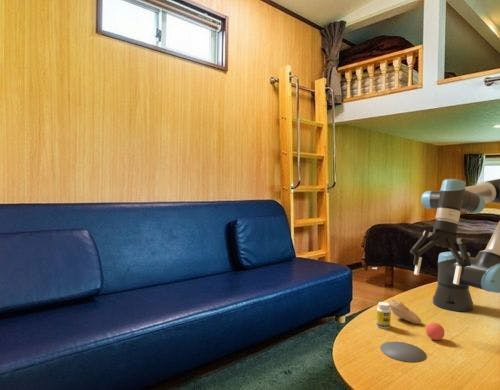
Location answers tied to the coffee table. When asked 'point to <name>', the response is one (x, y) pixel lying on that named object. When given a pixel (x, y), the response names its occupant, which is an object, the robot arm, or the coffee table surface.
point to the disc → (403, 351)
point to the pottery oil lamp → (403, 312)
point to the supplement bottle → (383, 315)
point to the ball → (435, 331)
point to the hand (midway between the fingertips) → (435, 279)
